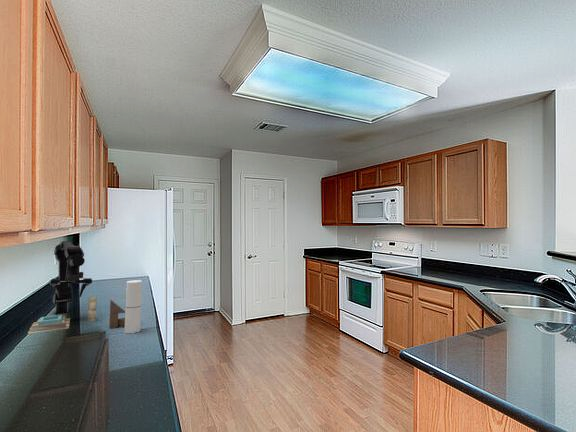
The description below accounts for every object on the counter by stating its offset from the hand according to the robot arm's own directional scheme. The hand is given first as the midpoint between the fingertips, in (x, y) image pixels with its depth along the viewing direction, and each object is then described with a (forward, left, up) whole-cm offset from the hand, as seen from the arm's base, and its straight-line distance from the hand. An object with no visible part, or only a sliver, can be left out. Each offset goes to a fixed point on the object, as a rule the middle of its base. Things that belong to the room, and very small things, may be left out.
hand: (69, 297), depth 167 cm
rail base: (+3, -8, -13) cm, 16 cm away
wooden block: (+19, +23, -14) cm, 33 cm away
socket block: (+5, -8, -13) cm, 15 cm away
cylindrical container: (+31, +27, -14) cm, 44 cm away
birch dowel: (+3, +10, -14) cm, 17 cm away
